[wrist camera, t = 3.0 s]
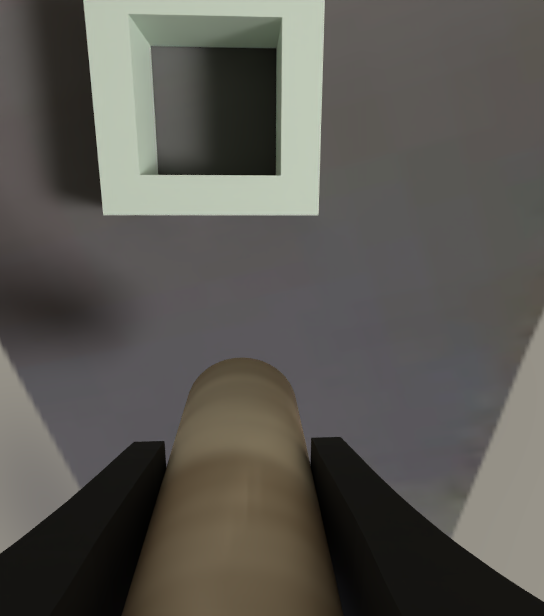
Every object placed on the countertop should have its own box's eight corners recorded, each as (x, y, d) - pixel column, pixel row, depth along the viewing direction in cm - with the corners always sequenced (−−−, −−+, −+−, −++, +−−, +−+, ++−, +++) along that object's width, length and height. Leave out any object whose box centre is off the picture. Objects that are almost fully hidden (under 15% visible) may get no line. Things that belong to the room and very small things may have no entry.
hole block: (307, 211, 18) (318, 215, 15) (128, 210, 17) (103, 215, 14) (311, 9, 16) (325, -31, 13) (111, 5, 15) (80, -38, 13)
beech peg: (295, 456, 13) (396, 1047, 4) (188, 458, 12) (46, 1078, 4) (297, 357, 12) (430, 813, 3) (184, 358, 12) (-8, 841, 3)
